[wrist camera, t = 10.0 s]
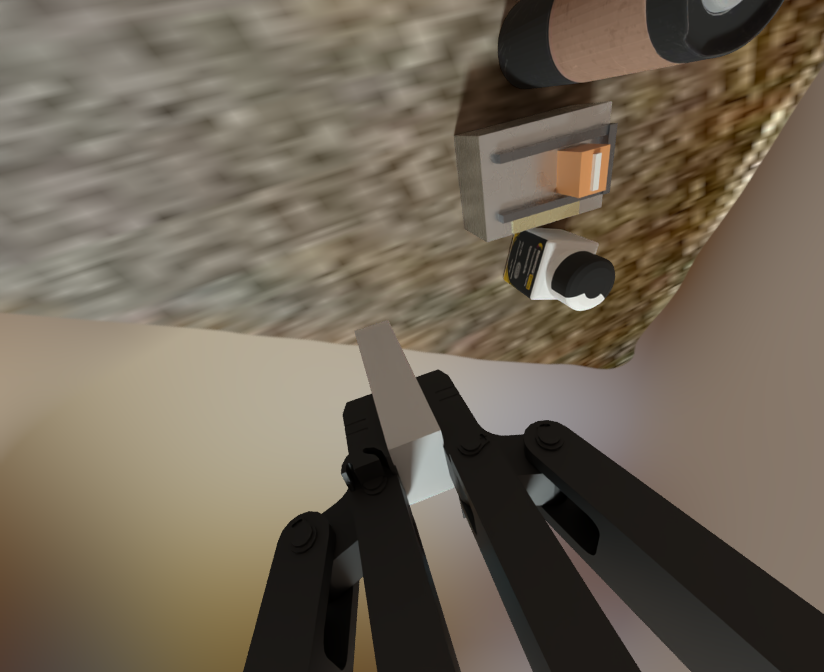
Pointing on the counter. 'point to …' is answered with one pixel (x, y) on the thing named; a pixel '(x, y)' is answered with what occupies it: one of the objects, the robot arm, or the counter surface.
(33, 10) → the counter surface
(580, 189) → the toggle
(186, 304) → the counter surface
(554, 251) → the medicine bottle
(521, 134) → the grey boxy piece
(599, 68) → the travel mug
